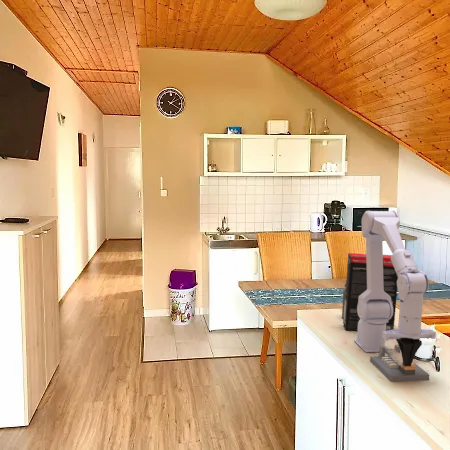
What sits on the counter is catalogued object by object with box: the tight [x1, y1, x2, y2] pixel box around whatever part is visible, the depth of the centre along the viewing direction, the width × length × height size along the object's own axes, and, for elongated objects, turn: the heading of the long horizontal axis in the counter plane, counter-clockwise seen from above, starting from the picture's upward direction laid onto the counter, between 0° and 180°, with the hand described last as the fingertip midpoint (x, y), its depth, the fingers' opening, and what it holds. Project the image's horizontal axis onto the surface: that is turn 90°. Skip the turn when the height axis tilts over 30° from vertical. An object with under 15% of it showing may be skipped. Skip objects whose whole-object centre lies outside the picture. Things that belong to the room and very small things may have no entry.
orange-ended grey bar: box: [385, 348, 415, 370], centre depth 131 cm, size 12×3×1 cm, turn 8°
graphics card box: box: [342, 252, 398, 331], centre depth 162 cm, size 17×7×27 cm, turn 84°
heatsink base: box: [369, 344, 430, 383], centre depth 131 cm, size 13×11×5 cm
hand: (407, 363), depth 127 cm, fingers closed, pressing on orange-ended grey bar
